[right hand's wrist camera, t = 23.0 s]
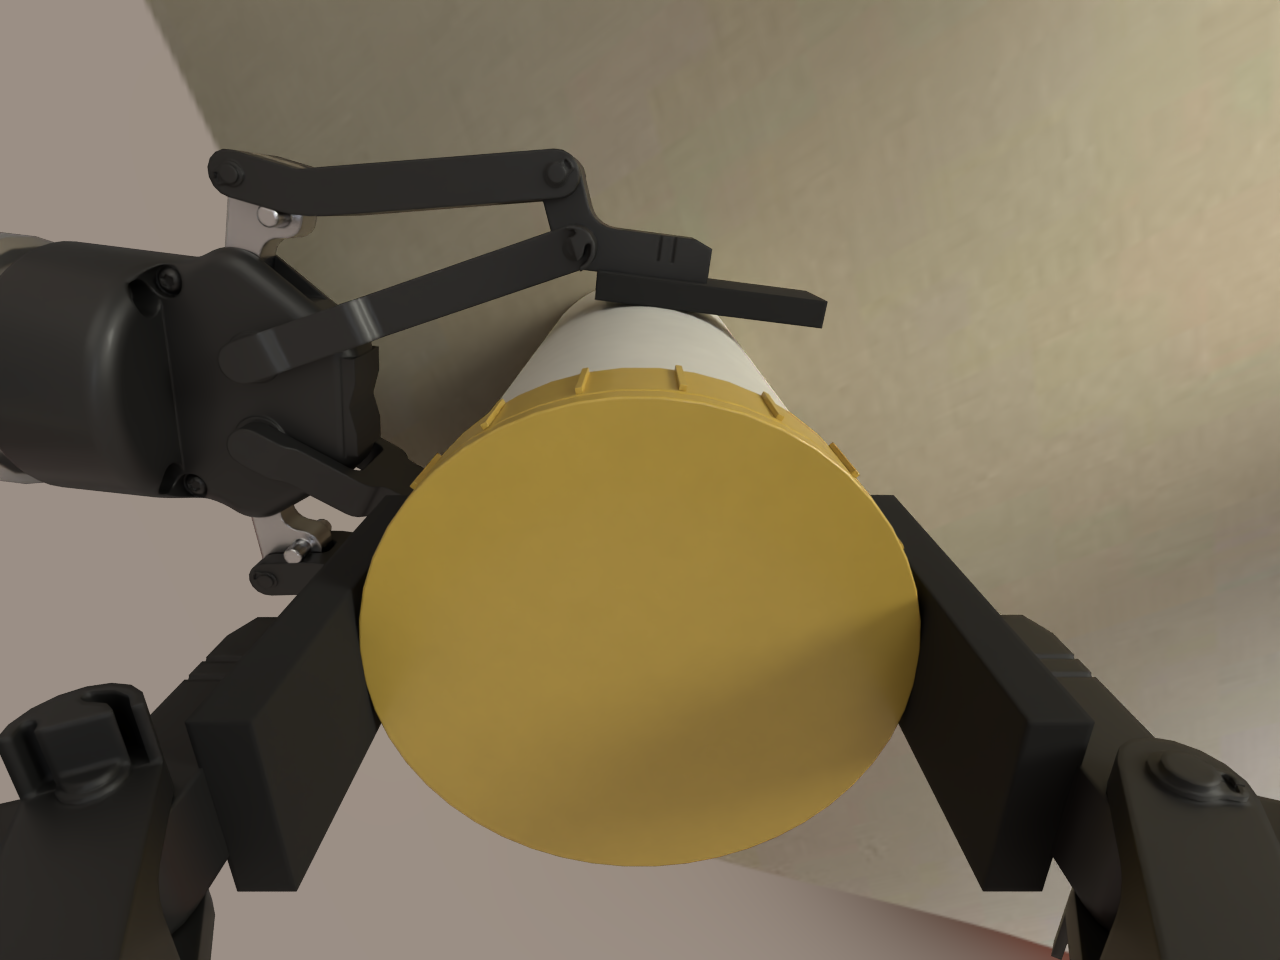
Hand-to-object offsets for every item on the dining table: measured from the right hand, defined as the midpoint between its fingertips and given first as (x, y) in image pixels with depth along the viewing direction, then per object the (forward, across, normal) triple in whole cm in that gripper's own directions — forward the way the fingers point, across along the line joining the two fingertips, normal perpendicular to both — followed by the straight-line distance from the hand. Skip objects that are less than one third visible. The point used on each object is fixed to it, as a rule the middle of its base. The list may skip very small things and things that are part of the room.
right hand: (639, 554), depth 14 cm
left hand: (+8, -5, +1) cm, 10 cm away
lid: (-3, 0, 0) cm, 3 cm away
